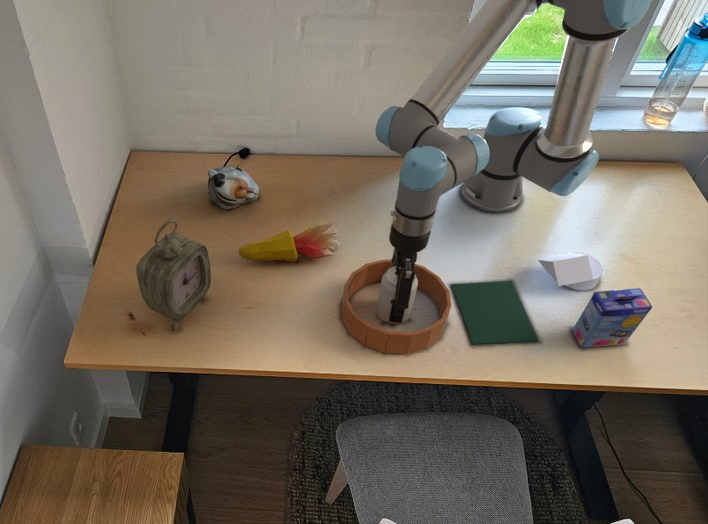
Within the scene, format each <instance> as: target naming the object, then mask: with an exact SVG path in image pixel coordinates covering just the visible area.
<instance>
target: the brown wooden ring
mask: <svg viewBox="0 0 708 524" xmlns="http://www.w3.org/2000/svg"><path fill="white" fill-rule="evenodd" d="M392 265H393V263H392V261H391V259H387V258H385V259H380V260H376V261H372V262H367V263H364V264H363V265H362V266H360V267H358V268H357V269H356V270H354V271H352V273H350V275H349V277H348V279H347V280H346V282H345V283H344V286H343V291H342V292H343V294H342V300H341V301H342V302H341V319H342V322H343V323H344V325H345V327H346V328H347V330H348V333H349V334H350V336H352V337H353V338H355V339H356V340H358V341H359V342H360V343H362V345H363V346H366V347H369V348H371V349H374V350H376V351H379V352H382V353H384V354H402V355H403V354H404V355H406V354H411V353H415V352H418V351H421V350H425V349H427V348H428V347H430V346H432V345H433V344H434V343H435V342H437V340H439V339H440V338H441V335H442V333H443V331H444V329H445V327H446V324H447V321H448V318H449V314H450V311H451V308H452V300H451V299H452V298H451V293H450V289H449V288H448V286H447V285H446V284H445V283H444V281H443V280H442V278H441V277H440V276H439V275H438V274H436V273H435V272H433V271H432V270H430V269H429V268H427V267H426V266H423V265H421V264H419V263H415V265H414V270H415V272H416V274H415V275H416V278H417V280H418V286H417V289H420V290H421V291H422V292H423V293H425V294H426V295H428V296H429V297H431V299H432V300H433V302H434V303H435V304H436V306H437V307H438V308H439V312H440V313H439V314H440V319H438V320H437V321H436V322H434V323H433V324H431V325H430V326H429V327H426V328H423V329H419V330H415V331H411V332H403V331H389V330H386V329H383V328H380V327H377V326H375V325H372V324H370V323H368V322H367V321H366V320H364V319H363V318H362V317H361V316H359V314H357V313H356V312H355V310H354V308H353V307H352V305H351V303H350V301H349V300H350V298H351V296H352V295H353V293H355V292H356V291H358V290H359V289H361V288H362V287H364V286H365V285H369V284H373V283H377V282H381V281H382V277H383V275H384V274H385V273H386V272H387V270H388V269H390V268H391V267H392Z"/></svg>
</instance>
